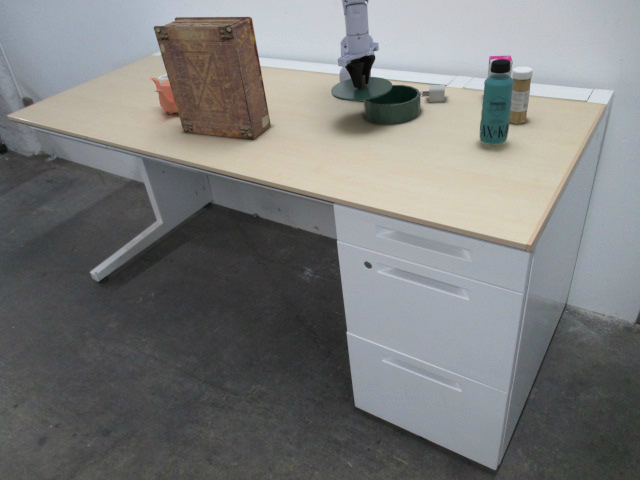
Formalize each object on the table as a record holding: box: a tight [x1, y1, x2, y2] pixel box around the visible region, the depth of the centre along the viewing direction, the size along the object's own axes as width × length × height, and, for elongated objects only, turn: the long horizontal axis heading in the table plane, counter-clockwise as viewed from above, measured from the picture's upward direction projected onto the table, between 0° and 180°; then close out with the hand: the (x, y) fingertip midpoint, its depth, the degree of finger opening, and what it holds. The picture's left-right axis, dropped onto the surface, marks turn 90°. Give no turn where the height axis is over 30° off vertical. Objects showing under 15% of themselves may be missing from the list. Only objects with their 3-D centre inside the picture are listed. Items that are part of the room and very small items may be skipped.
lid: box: [330, 73, 393, 102], centre depth 136 cm, size 16×16×4 cm
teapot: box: [149, 77, 178, 115], centre depth 164 cm, size 14×14×11 cm
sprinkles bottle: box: [509, 66, 534, 125], centre depth 128 cm, size 5×5×14 cm
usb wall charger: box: [419, 84, 446, 103], centre depth 149 cm, size 4×7×4 cm, turn 79°
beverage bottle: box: [479, 59, 514, 145], centre depth 117 cm, size 6×7×20 cm
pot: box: [363, 84, 421, 125], centre depth 144 cm, size 15×15×5 cm
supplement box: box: [486, 55, 514, 79], centre depth 141 cm, size 6×6×12 cm
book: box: [153, 16, 272, 140], centre depth 141 cm, size 25×9×30 cm, turn 64°
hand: (361, 85), depth 137 cm, fingers closed on lid, 2 cm apart
